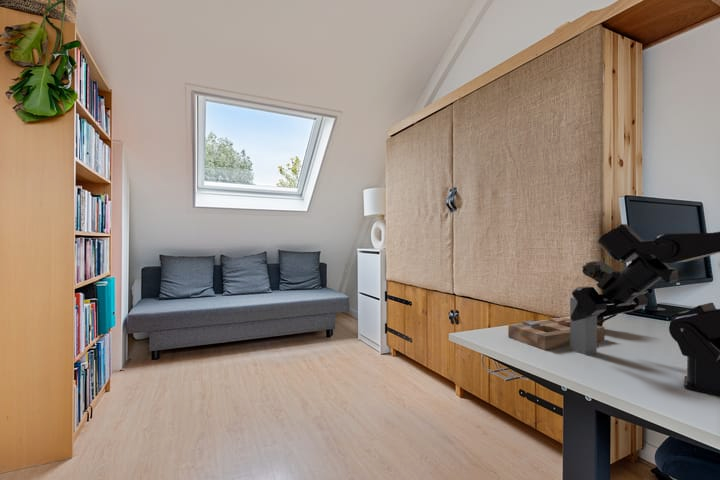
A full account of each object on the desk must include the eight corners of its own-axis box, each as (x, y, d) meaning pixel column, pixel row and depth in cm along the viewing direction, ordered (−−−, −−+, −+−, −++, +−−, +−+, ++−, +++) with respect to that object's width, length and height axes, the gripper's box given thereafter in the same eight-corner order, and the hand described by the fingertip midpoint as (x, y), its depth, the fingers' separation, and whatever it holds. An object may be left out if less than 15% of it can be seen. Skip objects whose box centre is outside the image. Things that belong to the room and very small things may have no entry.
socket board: (604, 340, 98) (604, 325, 98) (544, 350, 90) (544, 333, 90) (564, 329, 110) (564, 315, 110) (508, 337, 101) (508, 322, 101)
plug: (596, 352, 88) (597, 296, 88) (585, 354, 87) (585, 298, 86) (581, 347, 92) (581, 294, 92) (570, 349, 90) (570, 295, 90)
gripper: (634, 249, 87) (589, 288, 97) (580, 251, 80) (538, 293, 90) (672, 287, 80) (619, 325, 90) (616, 292, 73) (566, 333, 83)
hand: (585, 317), depth 89 cm, fingers open, 9 cm apart
